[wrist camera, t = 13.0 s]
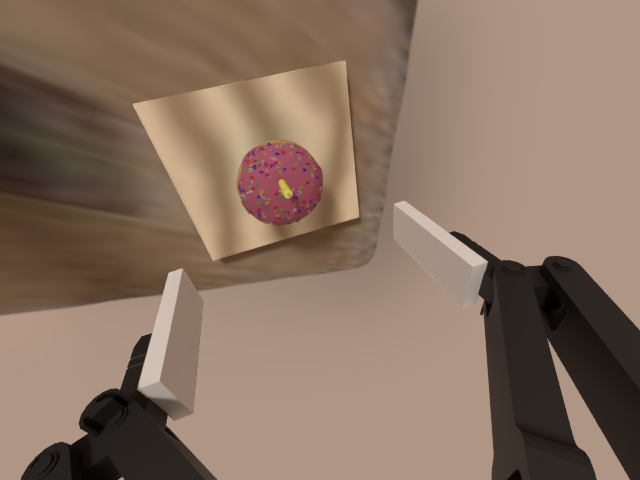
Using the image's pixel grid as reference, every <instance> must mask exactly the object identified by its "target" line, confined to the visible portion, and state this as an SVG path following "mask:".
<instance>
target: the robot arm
mask: <svg viewBox="0 0 640 480" xmlns="http://www.w3.org/2000/svg"><path fill="white" fill-rule="evenodd" d="M394 240H395V241H396V242H397V243H398V244H399V245H400V246H402V248H403V249H404V250H405V251H406V252H407V253H408V254H409V255H410V256H411V257H412V258H413V259H414V260H415V261H416V262H417V263H418V264H419V265H420V266H421V267H422V268H423V269H424V270H425V271H426V272H427V273H428V274H429V275H430V276H431V277H433V279H434V280H435V281H436V282H437V283H438V284H439V285H440V286H441V287H442V288H443V289H444V290H445V291H446V292H447V293H448V294H449V295H450V296H451V297H452V298H453V299H454V300H455V301H456V302H457V303H458V304H459V305H460V306H461V307H462V308H465V307H467V306H470V305H473V304H475V303H476V302H477V298H478V295H480V296H481V297H482V298H483V299H484V303H483V306H482V309H481V313H480V315H483V312H484V324H485V338H486V352H487V365H488V379H489V393H490V407H491V421H492V435H493V449H494V458H493V466H492V480H597V479H596V476H595V472H594V469H593V467H592V464H591V461H590V459H589V457H588V456H587V454H586V453H585V452H584V451H583V450H581V449H580V448H579V447H578V446H577V445H576V443H575V441H574V438H573V434H572V430H571V427H570V423H569V419H568V415H567V412H566V408H565V404H564V401H563V397H562V393H561V389H560V385H559V382H558V378H557V374H556V370H555V367H554V363H553V359H552V355H551V352H550V348H549V344H548V340H549V342H550V343H551V345H552V347H553V348H554V350H555V352H556V353H557V355H558V357H559V359H560V360H561V362H562V364H563V365H564V367H565V369H566V371H567V372H568V374H569V376H570V377H571V379H572V381H573V383H574V384H575V386H576V388H577V389H578V391H579V393H580V394H581V396H582V398H583V400H584V401H585V403H586V405H587V407H588V408H589V410H590V412H591V413H592V415H593V417H594V419H595V420H596V422H597V424H598V425H599V427H600V429H601V431H602V432H603V434H604V436H605V437H606V439H607V441H608V443H609V444H610V446H611V448H612V449H613V451H614V453H615V455H616V456H617V458H618V460H619V461H620V463H621V465H622V467H623V468H624V470H625V472H626V473H627V475H628V477H629V478H630V480H640V330H639V329H638V328H637V327H636V326H635V325H634V323H633V322H632V321H631V320H630V319H629V318H628V317H627V316H626V315H625V314H624V313H623V312H622V310H621V309H620V308H619V307H618V306H617V305H616V304H615V303H614V302H613V301H612V300H611V298H610V297H608V295H607V294H606V293H605V292H604V291H603V290H602V289H601V288H600V286H599V285H598V284H597V283H596V282H595V281H594V280H593V279H592V278H591V277H590V276H589V274H588V273H587V272H586V271H585V270H584V269H583V268H582V267H581V266H580V265H579V264H578V263H577V262H575V261H573V260H571V259H569V258H565V257H561V256H550V257H548V258H546V259H545V260H544V262H543V265H540V266H527V267H525V266H524V265H522V264H520V263H518V262H515V261H510V260H503V261H501V260H500V259H498V258H497V257H495V256H494V255H493V254H491V253H490V252H488V251H487V250H485V249H483V248H482V247H481V246H480V245H479V246H478V244H477V243H475V242H474V241H472V240H471V239H469V238H468V237H466V236H465V235H463V234H460V233H458V232H455V231H453V232H450V233H448V232H447V231H445V230H444V229H442V228H441V227H440V226H438V225H437V224H436V223H434V222H433V221H432V220H430V219H429V218H428V217H426V216H425V215H423V214H422V213H421V212H419V211H418V210H417V209H415V208H414V207H412V206H411V205H409V204H408V203H407V202H406V201H402V202H399V203H395V204H394ZM202 310H203V300H202V298H201V297H200V295H199V293H198V292H197V290H196V289H195V287H194V285H193V284H192V282H191V281H190V279H189V277H188V276H187V274H186V273H185V271H184V269H183V268H182V269H179V270H176V271H172V272H169V274H168V277H167V281H166V285H165V288H164V292H163V296H162V299H161V303H160V307H159V311H158V314H157V318H156V321H155V325H154V329H153V333H151V334H148V335H145V336H142V337H141V338H140V340H139V341H138V342H137V344H136V345H135V347H134V349H133V352H132V355H131V358H130V359H131V360H130V361H129V364H128V369H127V370H126V373H125V376H124V380H123V383H122V386H121V389H120V390H119V389H109V390H107V391H105V392H103V393H101V394H100V395H98V396H97V397H95V398H94V399H93V400H92V401H91V402H90V403H89V404H88V405H87V407H86V408H85V410H84V411H83V413H82V415H81V417H80V421H79V425H80V429H82V430H84V431H86V432H87V433H88V434H87V435H85V436H84V437H82V438H81V439H79V440H78V441H76V442H75V443H73V444H72V445H69V444H67V443H64V442H59V443H55V444H53V445H51V446H49V447H48V448H46V449H45V450H43V451H42V452H41V453H40V454H39V455H38V456H37V457H35V459H34V460H33V461H32V462H31V463H30V464H29V466H28V467H27V469H26V470H25V472H24V474H23V475H22V477H21V480H118V479H120V478H121V477H123V478H124V480H217V479H216V478H215V477H214V476H213V475H212V474H211V473H210V472H209V470H208V469H207V468H206V467H205V466H204V465H203V464H202V463H201V462H200V461H199V460H198V459H197V458H196V457H195V456H194V454H193V453H192V452H191V451H190V450H189V449H188V448H187V447H186V446H185V445H184V444H183V443H182V441H181V440H180V439H179V438H178V437H177V436H176V435H175V434H174V433H173V432H172V431H171V430H170V429H169V428H168V427H167V426H166V422H167V416H170V417H171V418H172V419H173V420H174V421H175V420H178V419H180V418H183V417H185V416H188V415H190V414H193V409H194V398H195V387H196V376H197V365H198V354H199V343H200V331H201V321H202ZM547 338H548V340H547Z"/></svg>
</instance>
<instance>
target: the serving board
mask: <svg viewBox="0 0 640 480" xmlns="http://www.w3.org/2000/svg"><path fill="white" fill-rule="evenodd" d="M133 106H134V108H135V110H136V112H137V114H138V116H139V118H140V120H141V122H142V124H143V126H144V127H145V129H146V131H147V133H148V135H149V137H150V139H151V141H152V143H153V145H154V147H155V149H156V151H157V153H158V155H159V157H160V159H161V160H162V162H163V164H164V166H165V168H166V170H167V172H168V174H169V176H170V178H171V180H172V182H173V184H174V186H175V188H176V190H177V191H178V193H179V195H180V197H181V199H182V201H183V203H184V205H185V207H186V209H187V211H188V213H189V215H190V217H191V219H192V221H193V223H194V224H195V226H196V228H197V230H198V232H199V234H200V236H201V238H202V240H203V242H204V244H205V246H206V248H207V250H208V252H209V254H210V256H211V257H212V259H213V261H214V260H217V259H221V258H224V257H227V256H231V255H234V254H237V253H241V252H244V251H247V250H251V249H254V248H257V247H261V246H264V245H267V244H271V243H274V242H277V241H281V240H284V239H287V238H291V237H294V236H298V235H301V234H304V233H308V232H311V231H314V230H318V229H321V228H324V227H328V226H331V225H334V224H338V223H341V222H344V221H348V220H351V219H354V218H358V217H359V208H358V197H357V186H356V175H355V163H354V152H353V141H352V129H351V118H350V107H349V95H348V84H347V73H346V61H338V62H333V63H329V64H324V65H319V66H314V67H309V68H304V69H299V70H294V71H290V72H285V73H280V74H275V75H270V76H265V77H260V78H255V79H251V80H246V81H241V82H236V83H231V84H226V85H221V86H217V87H212V88H207V89H202V90H197V91H192V92H187V93H182V94H178V95H173V96H168V97H163V98H158V99H153V100H148V101H143V102H139V103H135V104H133ZM273 139H277V140H289V141H292V142H294V143H297V144H298V145H300V146H302V147H303V148H305V149H306V150H307V151H308V152H309V153H310V154H311V155H312V156H313V158H314V159H315V160H316V162H317V163H318V165H319V166H320V167H321V169H322V173H323V185H324V188H323V189H322V192H323V193H322V196H321V199H320V201H319V203H318V204H317V205H316V207H315V208H314V209H313V210H312V212H311V213H310V214H309V215H307V216H306V217H304V218H303V219H301V220H299V221H298V222H294V223H291V224H289V225H288V224H287V225H286V224H285V225H279V226H277V225H273V224H268V223H267V224H264V222H261V221H259V220H258V219H256V218H255V217H254V216H253V215H251V214H248V213H249V212H248V211H246V209H245V208H244V207H243V205H242V202H241V198H240V196H239V194H238V191H237V187H236V182H237V175H238V170H239V167H240V165H241V163H242V160H243V158H244V156H245V155H246V154H247V153H248V152H249V151H250V150H251V149H253V148H254V147H257V146H259V145H261V144H263V143H265V142H267V141H269V140H273Z"/></svg>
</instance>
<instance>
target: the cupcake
mask: <svg viewBox="0 0 640 480" xmlns="http://www.w3.org/2000/svg"><path fill="white" fill-rule="evenodd" d="M236 187H237V191H238V194H239V196H240V198H241V202H242V205H243V207H244V208H245V209H246V211H248V212H249V213H248V214H251V215H253V216H254V217H255V218H256V219H258V220H259V221H261V222H264V224H267V223H268V224H273V225H277V226H279V225H285V224H286V225H287V224H288V225H289V224H291V223H294V222H298V221H299V220H301V219H303V218H304V217H306V216H307V215H309V214H310V213H311V212H312V210H313V209H314V208H315V207H316V205H317V204H318V203H319V201H320V199H321V196H322V193H323V192H322V189H323V188H324V185H323V173H322V169H321V167H320V166H319V165H318V163H317V162H316V160H315V159H314V158H313V156H312V155H311V154H310V153H309V152H308V151H307V150H306V149H305V148H303V147H302V146H300V145H298V144H297V143H294V142H292V141H289V140H277V139H273V140H269V141H267V142H265V143H263V144H261V145H259V146H257V147H254V148H253V149H251V150H250V151H249V152H248V153H247V154H246V155H245V156H244V158H243V160H242V163H241V165H240V167H239V170H238V175H237V182H236Z"/></svg>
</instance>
